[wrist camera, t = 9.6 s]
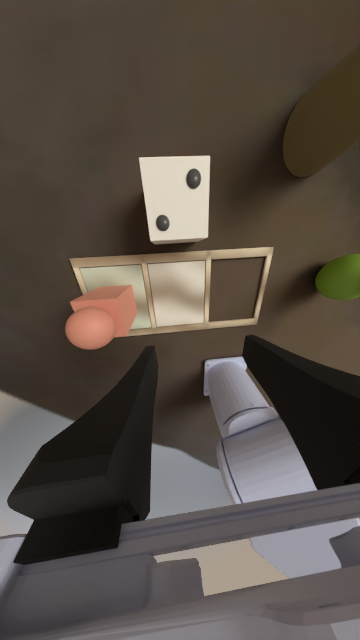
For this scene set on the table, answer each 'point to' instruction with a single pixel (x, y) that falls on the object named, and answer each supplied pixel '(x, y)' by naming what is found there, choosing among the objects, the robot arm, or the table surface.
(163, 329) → the board
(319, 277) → the snail figurine
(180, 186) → the die
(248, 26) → the table surface
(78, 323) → the pawn
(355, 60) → the cork
